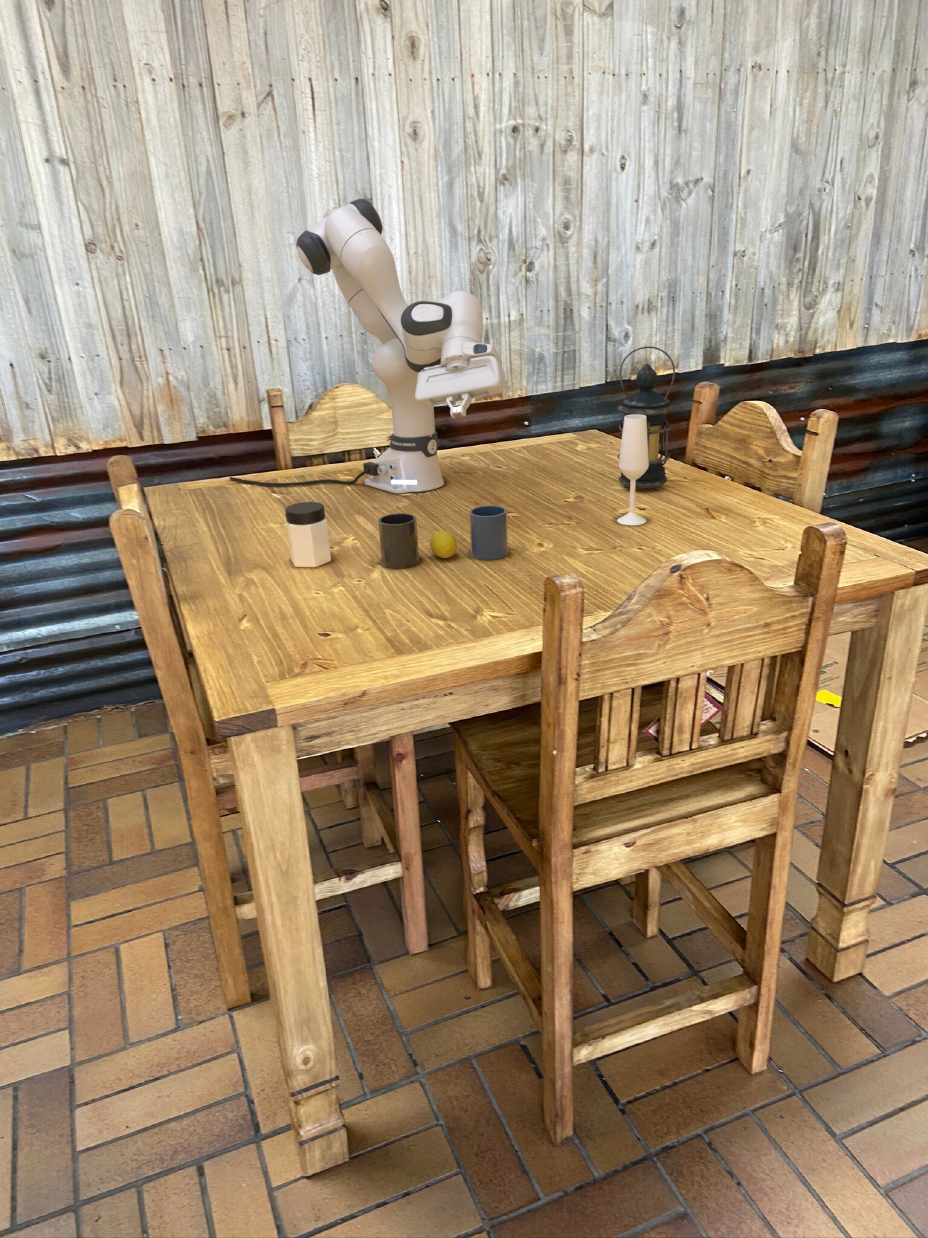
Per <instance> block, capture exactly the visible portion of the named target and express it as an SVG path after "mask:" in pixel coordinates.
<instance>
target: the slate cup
mask: <svg viewBox="0 0 928 1238" xmlns="http://www.w3.org/2000/svg"><path fill="white" fill-rule="evenodd" d="M468 515H469V535H470V538H469V539H470V552H471V553H470V554H471V557H473V558H475V559H477V560H480V561H481V560H483V561H494V560H495V561H496V560H500V559H502V558H505V557H506V556H508V554H509V530H508V527H509V525H508V509H507V508H506V507H503V506H500V505H492V504H491V505H489V504H488V505H479V506H475V507H473V508H471V509H470V510H469V512H468Z"/></svg>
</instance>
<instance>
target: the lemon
mask: <svg viewBox="0 0 928 1238" xmlns="http://www.w3.org/2000/svg"><path fill="white" fill-rule="evenodd" d="M429 546H430V549H431V551H432V553H433V554H434V555H436V557H438V558H441V559H449V558H451V557H452V556H454V555H455V554H456V552H457V549H458V542H457V539H456V537H455V536H454V535H453V534H452V533H451V532H449V531H447V530H439V531H436V532H435V533H434V534H433V535H432V536H431V538H430V542H429Z"/></svg>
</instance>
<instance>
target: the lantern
mask: <svg viewBox="0 0 928 1238" xmlns="http://www.w3.org/2000/svg"><path fill="white" fill-rule="evenodd" d="M644 349H654V350H657V351H660V352H661V353H663V354H664V355H665V356H666V357H667V358H668V360H669V361H670V363H671V366H672V380H671V383H670V385H669V387H668V389H667V392H666V394H665V396H664V395H663V394H660V393H658V392H656V391H655V390H654V388H655V387H656V385H657V383H658V374H657V372H656V371H655V369H654V368H653V367H652V365H651V364H649V363H645V364H644V365H643V366H642V367H641V369H640V370H639V371H638V372H637V374H636V377H635V383H636V386H637V388H638V389H639V391H636V392H635V393H633V394H631V395H629V397H628V395H627V392H626V388H625V386H624V383H623V378H622V369H623V365H624V364H625V362H626V360H627V359H628V358H629V357H630V356H631V355H632V354H633V353H635V352H637V351H640V350H644ZM675 377H676V367H675V363H674V360H673V359H672V357H671V355H670V354H669V353H668V352H666V351H665V350H663V349H661V348H659V347H656V346H649V345H647V346H642V347H638V348H635V349H633V350H632V351H630V352H629V353H628V354H627V355H626V356H625V357H624V358H623V360H622V362H621V363H620V367H619V381H620V386H621V388H622V391H623V394H624V397H625V399H623V400H622V401H621V402H620V405H618V406H617V411H619V412H620V413H621V414H624V417H625V416H626V415H633V414H639V415H645V416H646V422H647V441H648V460H649V467H648V469H647V470H646V472H645V473H644V474H643V475H642V476H641V477H640V478H638V479H637V480H636V485H635V490H640V491H645V490H654V489H658V488H660V487H662V486H663V485H664V484H666V483H667V481H669V480H668V477H667V476H666V474H667V473H666V467H665V465H666V464H667V461H669V460H670V459H671V455H670V454H669V452H668V445H669V444H668V442H669V431H671V429H672V427H673V426H672V425H671V424H670V423H669V422H668V420H667V414H669V413H670V412H672V411H673V410H674V405H673V404H671V403H672V401H670V400H669V399H668V396H669V393H670V391H671V389H672V387H673V385H674V381H675ZM624 417H623V418H622V421H621V423H620V424H619V425H618V426H617V428H618V429H619V431H620V432H621V434H622V433H623V425H624ZM660 426H661V429H660ZM660 434H661V440H660ZM664 437H665V439H664ZM664 440H665V441H664ZM660 441H661V443H660ZM664 443H665V444H664ZM659 444H660V445H659ZM659 447H660V449H659ZM659 454H660V456H659ZM663 456H664V458H663ZM619 457H620V453H618V455H617V459H618V460H619ZM618 481H619V483H620V484H622V485H623V486H625V487H626V488H627V489H630V479H628V478H627V477H626V476H625V475H624V474H623V473H622V472H621V471H620V476H619V477H618Z"/></svg>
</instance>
